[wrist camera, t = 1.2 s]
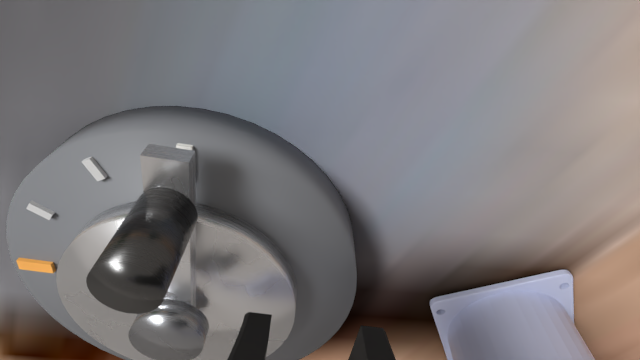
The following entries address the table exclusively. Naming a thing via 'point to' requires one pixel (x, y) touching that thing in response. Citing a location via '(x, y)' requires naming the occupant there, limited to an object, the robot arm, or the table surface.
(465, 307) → the robot arm
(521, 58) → the table surface
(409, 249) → the table surface
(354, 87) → the table surface
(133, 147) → the dial base
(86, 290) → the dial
